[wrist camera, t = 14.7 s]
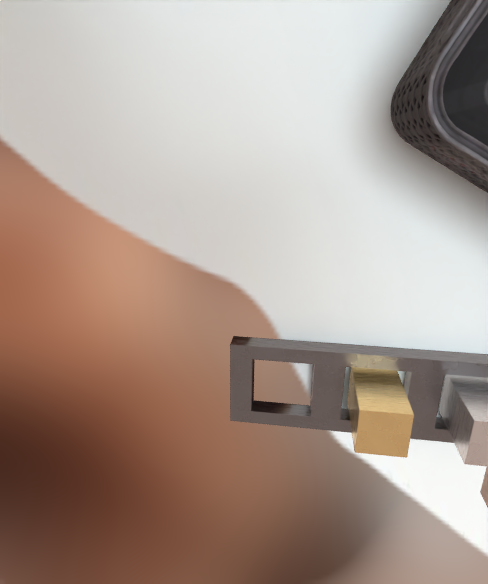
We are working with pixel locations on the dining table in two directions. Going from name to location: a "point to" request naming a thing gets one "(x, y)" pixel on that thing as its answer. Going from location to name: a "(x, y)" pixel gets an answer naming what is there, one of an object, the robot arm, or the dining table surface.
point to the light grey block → (467, 416)
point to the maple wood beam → (379, 412)
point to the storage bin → (449, 93)
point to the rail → (330, 381)
